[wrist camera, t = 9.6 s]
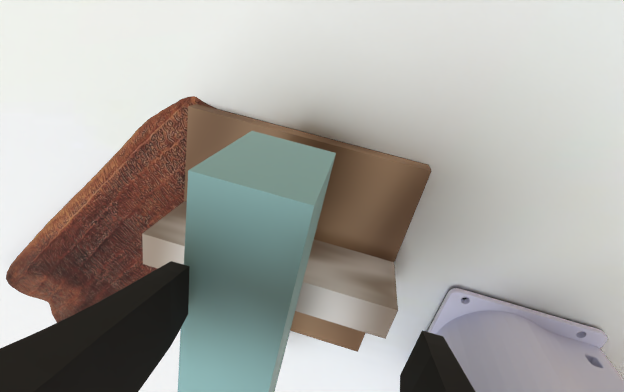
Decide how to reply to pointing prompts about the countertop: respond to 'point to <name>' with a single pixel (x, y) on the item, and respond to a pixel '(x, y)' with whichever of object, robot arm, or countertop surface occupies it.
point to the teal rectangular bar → (247, 259)
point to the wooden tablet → (108, 220)
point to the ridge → (321, 228)
